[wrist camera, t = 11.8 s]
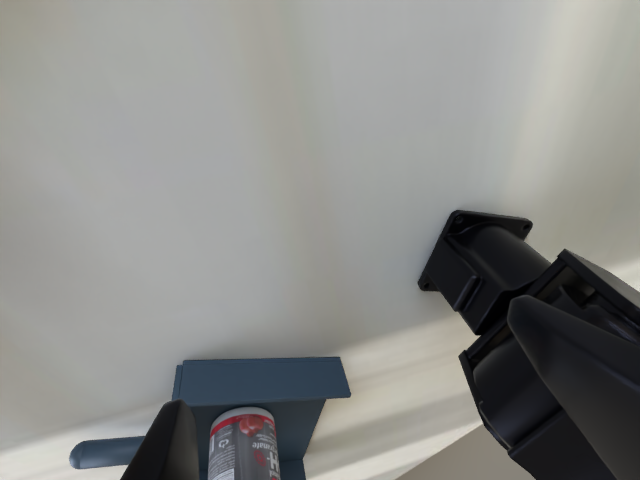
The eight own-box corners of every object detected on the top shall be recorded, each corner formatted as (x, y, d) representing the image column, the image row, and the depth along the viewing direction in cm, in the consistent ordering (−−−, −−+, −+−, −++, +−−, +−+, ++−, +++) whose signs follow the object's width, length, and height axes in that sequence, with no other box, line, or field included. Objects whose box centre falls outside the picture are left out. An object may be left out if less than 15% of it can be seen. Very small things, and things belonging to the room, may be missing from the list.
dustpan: (340, 356, 29) (351, 394, 26) (301, 457, 37) (307, 493, 34) (64, 362, 23) (42, 411, 20) (90, 479, 31) (76, 526, 28)
